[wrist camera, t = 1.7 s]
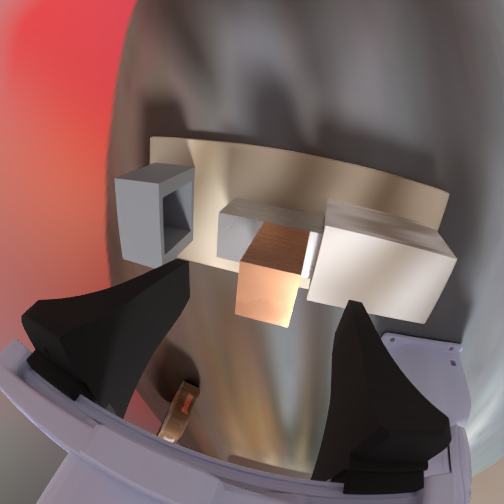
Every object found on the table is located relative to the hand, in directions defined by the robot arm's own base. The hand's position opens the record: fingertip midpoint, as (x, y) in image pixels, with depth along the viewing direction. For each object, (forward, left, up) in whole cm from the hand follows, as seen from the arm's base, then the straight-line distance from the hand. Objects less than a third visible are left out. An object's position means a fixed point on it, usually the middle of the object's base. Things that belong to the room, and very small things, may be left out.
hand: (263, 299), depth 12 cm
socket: (+9, 0, -9) cm, 13 cm away
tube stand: (0, 0, -9) cm, 9 cm away
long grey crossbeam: (-3, 0, -8) cm, 8 cm away
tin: (+10, +30, -10) cm, 33 cm away
